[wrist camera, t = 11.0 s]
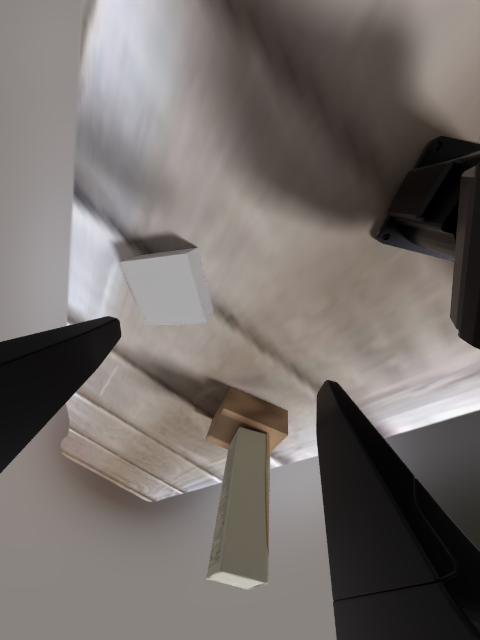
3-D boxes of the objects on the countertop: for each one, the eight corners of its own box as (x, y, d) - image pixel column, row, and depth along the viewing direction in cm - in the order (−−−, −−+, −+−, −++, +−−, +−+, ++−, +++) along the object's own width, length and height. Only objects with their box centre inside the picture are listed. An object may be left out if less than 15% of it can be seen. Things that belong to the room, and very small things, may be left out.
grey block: (199, 246, 20) (186, 253, 17) (214, 309, 23) (205, 323, 21) (138, 254, 22) (119, 262, 19) (161, 312, 25) (146, 325, 22)
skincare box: (255, 453, 30) (248, 590, 20) (227, 446, 30) (204, 580, 19) (271, 433, 26) (271, 587, 16) (238, 424, 26) (218, 574, 16)
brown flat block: (287, 408, 29) (288, 434, 26) (262, 436, 34) (259, 462, 31) (230, 384, 29) (223, 408, 26) (213, 416, 34) (205, 440, 31)
